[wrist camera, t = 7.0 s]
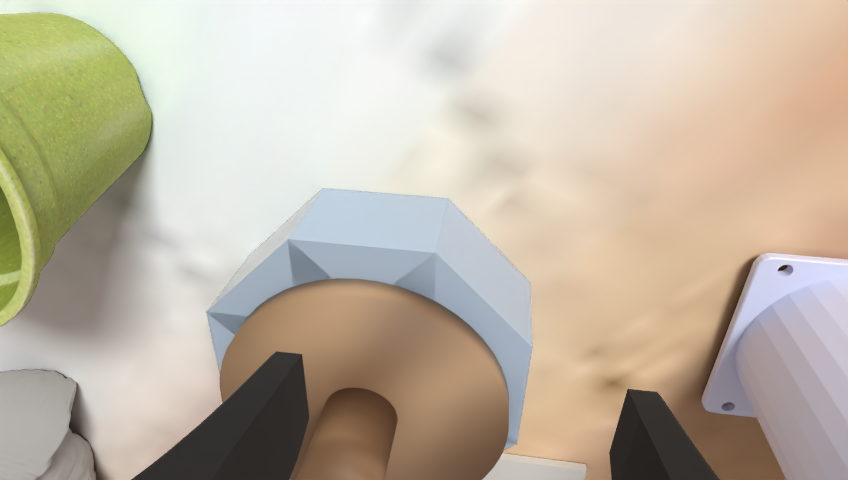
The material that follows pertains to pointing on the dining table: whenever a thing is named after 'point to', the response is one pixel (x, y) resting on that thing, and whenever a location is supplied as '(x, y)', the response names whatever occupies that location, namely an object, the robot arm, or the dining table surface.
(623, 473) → the robot arm
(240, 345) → the lid
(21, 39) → the plant pot
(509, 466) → the mat
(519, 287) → the bowl
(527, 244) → the dining table surface
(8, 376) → the grey clay mound
